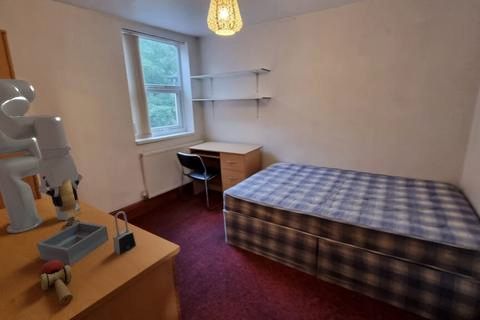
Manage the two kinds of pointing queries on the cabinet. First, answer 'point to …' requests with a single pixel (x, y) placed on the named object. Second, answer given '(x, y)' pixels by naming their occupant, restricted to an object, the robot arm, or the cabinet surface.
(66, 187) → the peg
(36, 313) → the cabinet surface
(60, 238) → the peg box
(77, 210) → the small box
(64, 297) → the kendama
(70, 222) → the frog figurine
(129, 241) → the padlock
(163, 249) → the cabinet surface
